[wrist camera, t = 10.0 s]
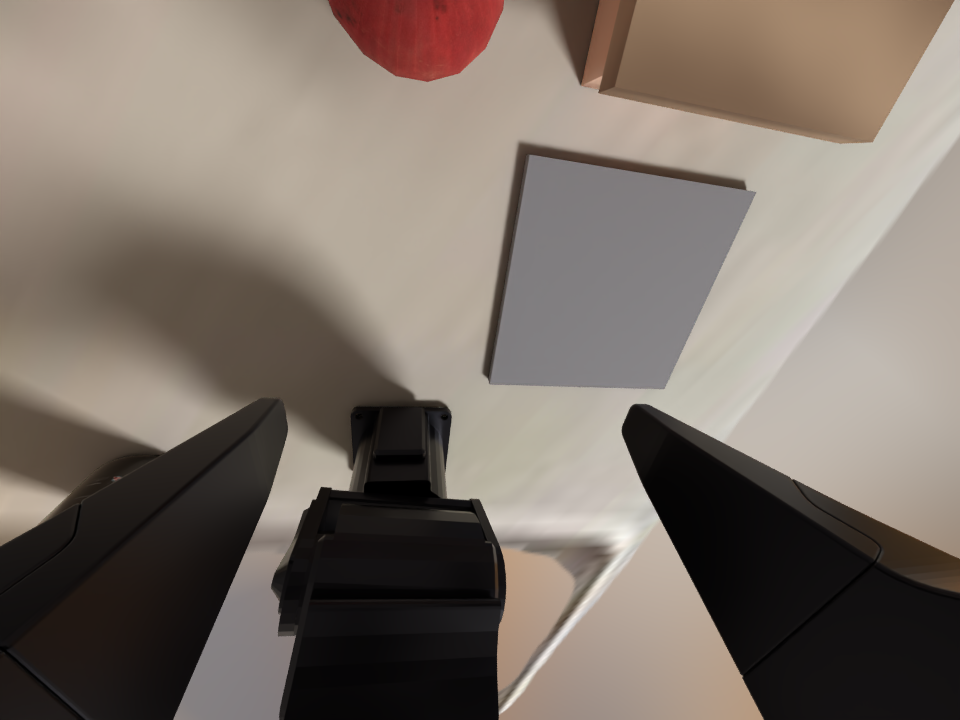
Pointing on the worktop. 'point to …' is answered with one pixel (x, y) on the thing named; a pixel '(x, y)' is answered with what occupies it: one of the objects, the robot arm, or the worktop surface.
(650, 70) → the walnut lid
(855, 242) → the worktop surface
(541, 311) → the rubber mat
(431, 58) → the onion
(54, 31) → the worktop surface
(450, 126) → the worktop surface
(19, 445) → the worktop surface
